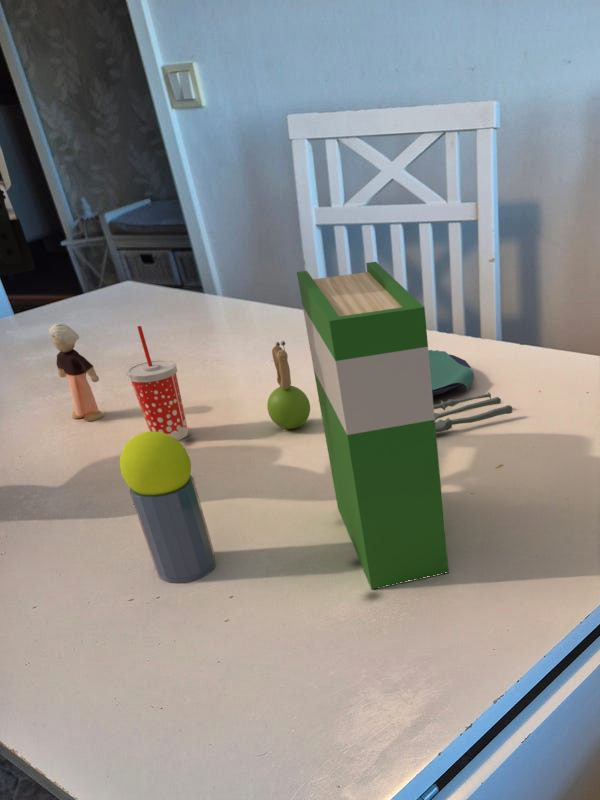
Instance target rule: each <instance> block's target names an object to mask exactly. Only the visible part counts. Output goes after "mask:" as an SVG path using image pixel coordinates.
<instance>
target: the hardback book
mask: <svg viewBox="0 0 600 800" xmlns="http://www.w3.org/2000/svg"><path fill="white" fill-rule="evenodd" d="M365 264H366V271H365V272H357V273H351V274H344V275H337V276H336V275H335V276H327V277H321V278H313V277H312V276H311V275H310V273H309V272H308V270H301V271H296V276H297V282H298V288H299V294H300V299H301V305H302V310H303V316H304V321H305V328H306V333H307V339H308V344H309V345H308V346H309V350H310V356H311V361H312V362H311V363H312V368H313V374H314V380H315V384H316V385H315V386H316V391H317V396H318V401H319V409H320V413H321V419H322V426H323V431H324V436H325V443H326V447H327V453H328V459H329V464H330V471H331V476H332V483H333V488H334V493H335V500H336V507H337V509H338V512H339V514H340V516H341V519H342V521H343V524H344V526H345V528H346V532H347V534H348V536H349V538H350V541H351V543H352V546H353V548H354V550H355V553H356V556H357V558H358V560H359V563H360V565H361V567H362V570H363V572H364V575H365V577H366V579H368V580H367V582H368V584H369V587H370V589H371V590H372V589H373V590H375V589H374V588H378V587H383V586H386V585H392V584H396V583H400V582H405V581H408V580H414V579H419V580H421V579H420V578H423V577H427V576H433V575H437V574H441V573H445V572H449V573H450V570H449V559H448V547H447V537H446V526H445V517H444V516H445V515H444V506H443V493H442V483H441V473H440V471H441V470H440V460H439V451H438V450H439V449H438V440H437V439H438V438H437V433H436V428H435V423H436V420H435V417H434V413H435V409H434V406H433V405H434V396H433V395H432V384H431V373H430V362H429V352H428V350H429V341H428V332H427V331H428V329H427V320H426V319H427V318H426V312H425V311H426V309H425V306H424V305H422V303H421V302H419V300H417V299H416V298H415V296H414V295H412V294H411V293H410V292H409V291H408V290H407V289H406V288H405V287H403V285H401V284H400V283H399V282H398V281H397V280H396V279H395V278H394V277H393V276H392V275H391V274H390V273H388V272H387V270H386V269H384V268H383V267H382V266H381V265H380V264H379V263H378V262H377V261H371V262H366V263H365ZM433 577H434V576H433ZM405 583H406V582H405ZM396 585H397V584H396ZM392 586H393V585H392ZM383 588H384V587H383ZM378 589H379V588H378Z"/></svg>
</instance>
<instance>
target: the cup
mask: <svg viewBox="0 0 600 800" xmlns="http://www.w3.org/2000/svg"><path fill="white" fill-rule="evenodd" d="M129 494H130V497H131V500H132V503H133V506H134V510H135V513H136V515H137V518H138V521H139V523H140V527H141V530H142V533H143V537H144V539H145V542H146V545H147V548H148V551H149V555H150V557H151V559H152V563H153V567H154V569H155V572H156V574H157V576H158V577H159V579H160V580H162V581H164V582H167V583H173V584H180V583H189V582H192V581H196V580H199V579H201V578H203V577H205V576H207V575H208V574H210V573H211V572H212V571H213V570H214V569H215V567H216V566H217V559H216V554H215V550H214V547H213V543H212V539H211V536H210V533H209V528H208V526H207V522H206V518H205V514H204V511H203V507H202V504H201V499H200V497H199V493H198V490H197V486H196V483H195V478H194V476H193V475H192V474H190V477H189V480H188V482H187V484H186V485H185V486H184V487H183V488H181V489H179V490H177V491H175V492H171V493H168V494H165V495H157V496H143V495H140V494H138V493H137V492H135V491H134V490H133V489H132V488H130V487H129Z"/></svg>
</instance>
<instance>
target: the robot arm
mask: <svg viewBox="0 0 600 800" xmlns="http://www.w3.org/2000/svg"><path fill="white" fill-rule="evenodd" d="M11 186H12V181H11V178H10V174H9V171H8V167H7V164H6V159H5V156H4V153H3V150H2V146H1V145H0V277H1V276H7V275H15V274H21V273H26V272H27V273H28V272H31V271H34V270H35V269H36V264H35V260H34V257H33V255H32V252H31V248H30V247H29V244H28V241H27V238H26V235H25V232H24V229H23V226H22V223H21V221H20V218H19V217H18V218H17V216H16V213H15V210H14V207H13V205H12V202H11V200H10V197H9V195H8V193H7V191H8V190H9V189H10V188H11Z"/></svg>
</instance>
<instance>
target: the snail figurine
mask: <svg viewBox="0 0 600 800" xmlns="http://www.w3.org/2000/svg"><path fill="white" fill-rule="evenodd" d="M274 345H275V346H273V348H272V350H271V354H272V359H273V363H274V366H275V369H276V377H277V378H276V382H277V383H278V385H279V387H276V388H275V389H274V390H273V391H272V392H271V393H270V395H269V396H268V399H267V404H266V405H267V408H266V409H267V413H268V415H269V418H270V419H271V420H272V421H273V423H274V424H275V425H277V426H278V427H281V428H283V429H287V430H293V429H297V428H300V427H301V426H303V425H304V424H305V423H306V422H307V421H308V419H309V417H310V413H311V403H310V400H309V398H308V396H307V394H306V393H305V392H304V391H303V390H302V389H300V388H299V387H297V386H294V385H292V379H291V369H290V368H291V367H290V365H289V361H288V360H289V359H288V353H287V351H286V349H285V346H286V342H285V340H282V341H280V342H279V341H276V342H275V344H274ZM281 346H282V347H281Z"/></svg>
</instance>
